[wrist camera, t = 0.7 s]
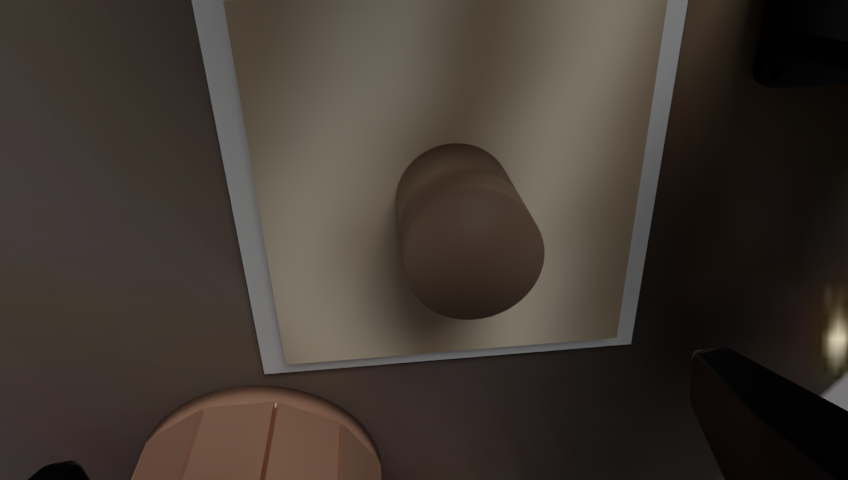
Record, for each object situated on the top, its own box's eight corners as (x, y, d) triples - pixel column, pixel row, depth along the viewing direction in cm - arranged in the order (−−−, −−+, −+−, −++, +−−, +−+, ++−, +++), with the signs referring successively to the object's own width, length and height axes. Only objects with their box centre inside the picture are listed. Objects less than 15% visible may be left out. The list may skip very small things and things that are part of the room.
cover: (657, -20, 17) (755, -1, 13) (608, 324, 23) (665, 416, 19) (228, -3, 16) (182, 23, 12) (288, 350, 22) (271, 452, 18)
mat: (687, -61, 17) (698, -60, 17) (624, 334, 24) (631, 344, 23) (188, -43, 16) (183, -42, 16) (266, 363, 23) (264, 374, 22)
